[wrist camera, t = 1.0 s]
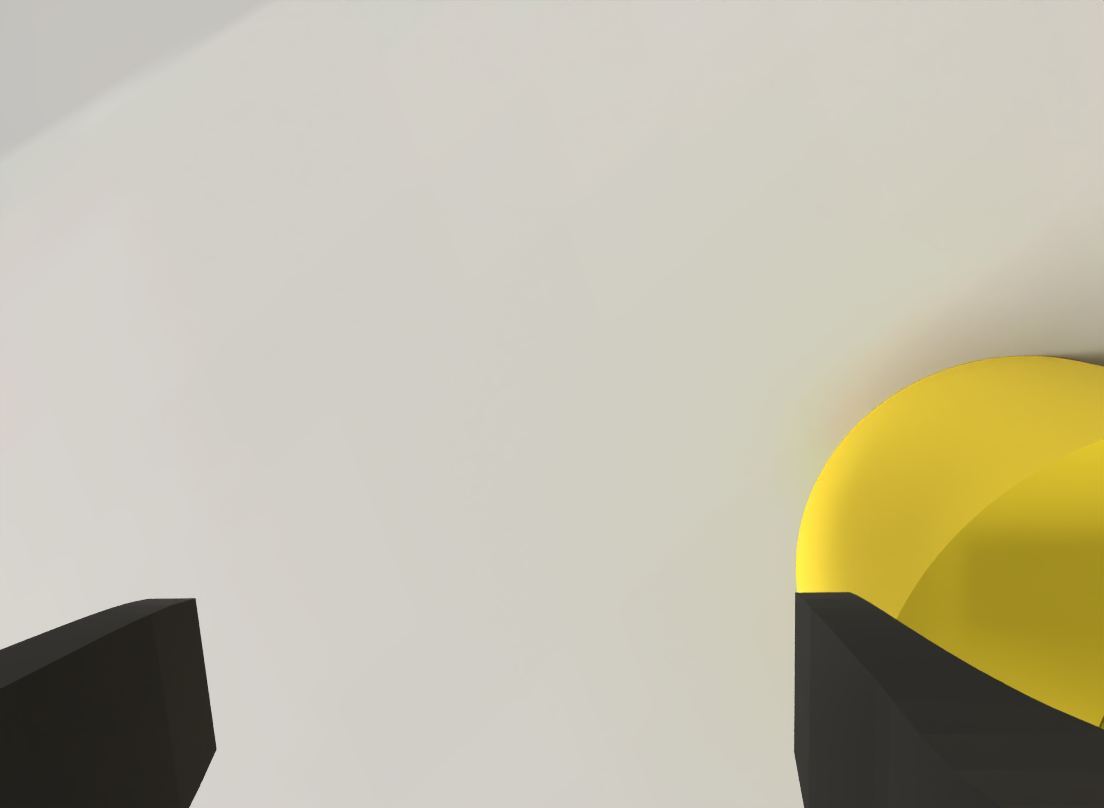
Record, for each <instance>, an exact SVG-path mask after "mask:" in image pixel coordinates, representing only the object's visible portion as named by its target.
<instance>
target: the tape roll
mask: <svg viewBox="0 0 1104 808" xmlns="http://www.w3.org/2000/svg"><path fill="white" fill-rule="evenodd" d="M796 582H797V592H798V593H802V592H851V593H853V594H855V595H858V596H859V597H861V598H863V599H865V600H866V601H868V602H870V603H871V604H873V605H875V606H876V607H878V608H879V609H881V610H883V611H884V612H886V613H887V614H889V615H890V616H892V617H894V618H895V619H897V620H898V621H900V622H901V623H903V624H904V625H906V626H908V627H909V628H911V629H912V630H914V631H915V632H917V633H919V634H920V635H922V636H923V637H925V638H926V639H928V640H930V641H931V642H933V643H935V644H936V645H938V646H939V647H941V648H943V649H944V650H946V651H948V652H949V653H951V654H953V655H954V656H956V657H958V658H959V659H961V660H963V661H965V662H966V663H968V664H970V665H972V666H973V667H975V668H977V669H979V670H980V671H982V672H984V673H986V674H988V675H990V676H992V677H993V678H995V679H997V680H999V681H1001V682H1003V683H1005V684H1007V685H1008V686H1010V687H1012V688H1014V689H1016V690H1018V691H1020V692H1022V693H1024V694H1026V695H1028V696H1030V697H1032V698H1034V699H1036V700H1038V701H1040V702H1042V703H1044V704H1046V705H1049V706H1051V707H1053V708H1055V709H1057V710H1060V711H1062V712H1064V713H1067V714H1069V715H1071V716H1074V717H1076V718H1078V719H1081V720H1083V721H1086V722H1088V723H1090V724H1093V725H1095V726H1097V727H1100V728H1102V729H1104V366H1099V365H1094V364H1089V363H1085V362H1080V361H1075V360H1070V359H1063V358H1056V357H1046V356H1008V357H998V358H990V359H984V360H979V361H974V362H970V363H966V364H962V365H958V366H955V367H952V368H949V369H946V370H943V371H940V372H938V373H935V374H933V375H930V376H928V377H926V378H923V379H921V380H919V381H917V382H915V383H913V384H911V385H910V386H908V387H906V388H904V389H902V390H901V391H899V392H898V393H896V394H894V395H893V396H891V397H890V398H888V399H887V400H886V401H884V402H883V403H881V404H880V405H879V406H878V407H876V408H875V409H874V410H873V411H871V412H870V413H869V414H868V415H867V416H866V417H865V418H863V419H862V420H861V421H860V422H859V423H858V424H857V425H856V426H855V427H854V428H853V429H852V430H851V431H850V433H849V434H848V435H847V436H846V437H845V438H844V439H843V441H842V442H841V443H840V444H839V446H838V447H837V448H836V450H835V451H834V452H833V454H832V455H831V457H830V458H829V460H828V461H827V463H826V465H825V466H824V468H823V470H822V471H821V473H820V475H819V477H818V479H817V481H816V483H815V485H814V487H813V489H812V492H811V494H810V497H809V499H808V502H807V505H806V508H805V511H804V514H803V518H802V522H801V526H800V531H799V537H798V544H797V553H796Z"/></svg>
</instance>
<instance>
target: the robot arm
mask: <svg viewBox="0 0 1104 808" xmlns="http://www.w3.org/2000/svg"><path fill="white" fill-rule="evenodd" d="M215 751H216V742H215V735H214V728H213V721H212V713H211V706H210V699H209V692H208V685H207V678H206V670H205V663H204V656H203V649H202V642H201V635H200V628H199V620H198V613H197V606H196V599H195V598H189V599H145V600H140V601H135V602H131V603H127V604H123V605H120V606H117V607H114V608H110V609H107V610H104V611H101V612H98V613H96V614H93V615H90V616H87V617H84V618H82V619H79V620H76V621H74V622H71V623H68V624H66V625H63V626H61V627H58V628H55V629H53V630H50V631H48V632H45V633H42V634H40V635H37V636H35V637H32V638H30V639H27V640H25V641H22V642H19V643H17V644H14V645H12V646H9V647H7V648H4V649H1V650H0V808H189V807H190V805H191V803H192V801H193V799H194V797H195V795H196V793H197V791H198V789H199V787H200V784H201V782H202V780H203V778H204V776H205V773H206V771H207V769H208V767H209V765H210V762H211V760H212V758H213V756H214V754H215ZM794 753H795V759H796V765H797V770H798V776H799V781H800V787H801V793H802V798H803V803H804V808H1104V729H1102V728H1100V727H1097V726H1095V725H1093V724H1090V723H1088V722H1086V721H1083V720H1081V719H1078V718H1076V717H1074V716H1071V715H1069V714H1067V713H1064V712H1062V711H1060V710H1057V709H1055V708H1053V707H1051V706H1049V705H1046V704H1044V703H1042V702H1040V701H1038V700H1036V699H1034V698H1032V697H1030V696H1028V695H1026V694H1024V693H1022V692H1020V691H1018V690H1016V689H1014V688H1012V687H1010V686H1008V685H1007V684H1005V683H1003V682H1001V681H999V680H997V679H995V678H993V677H992V676H990V675H988V674H986V673H984V672H982V671H980V670H979V669H977V668H975V667H973V666H972V665H970V664H968V663H966V662H965V661H963V660H961V659H959V658H958V657H956V656H954V655H953V654H951V653H949V652H948V651H946V650H944V649H943V648H941V647H939V646H938V645H936V644H935V643H933V642H931V641H930V640H928V639H926V638H925V637H923V636H922V635H920V634H919V633H917V632H915V631H914V630H912V629H911V628H909V627H908V626H906V625H904V624H903V623H901V622H900V621H898V620H897V619H895V618H894V617H892V616H890V615H889V614H887V613H886V612H884V611H883V610H881V609H879V608H878V607H876V606H875V605H873V604H871V603H870V602H868V601H866V600H865V599H863V598H861V597H859V596H858V595H855V594H853V593H851V592H802V593H795V720H794Z"/></svg>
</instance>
